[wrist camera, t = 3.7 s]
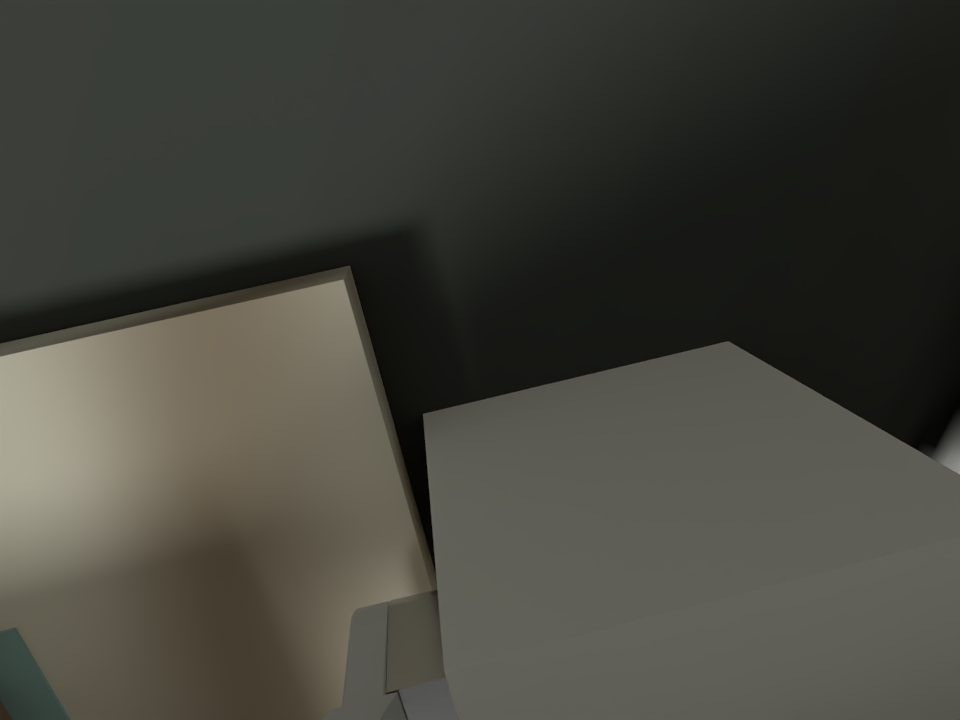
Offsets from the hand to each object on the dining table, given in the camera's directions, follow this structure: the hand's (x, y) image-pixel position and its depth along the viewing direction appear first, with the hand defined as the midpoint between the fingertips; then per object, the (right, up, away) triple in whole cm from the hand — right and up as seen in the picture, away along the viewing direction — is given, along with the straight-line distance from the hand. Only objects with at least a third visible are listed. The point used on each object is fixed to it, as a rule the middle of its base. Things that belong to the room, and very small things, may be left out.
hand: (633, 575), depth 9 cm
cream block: (0, +1, +2) cm, 2 cm away
